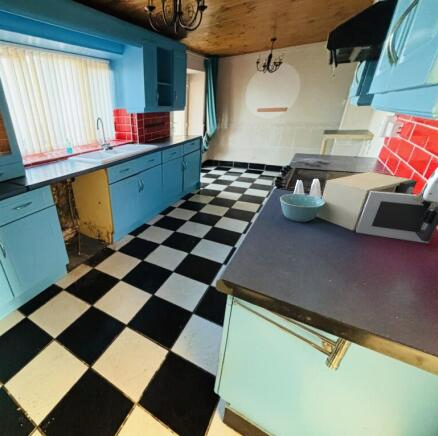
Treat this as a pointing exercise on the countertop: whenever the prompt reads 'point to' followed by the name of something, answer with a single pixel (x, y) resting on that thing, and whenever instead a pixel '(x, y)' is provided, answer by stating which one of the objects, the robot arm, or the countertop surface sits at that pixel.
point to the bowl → (301, 206)
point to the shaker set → (314, 190)
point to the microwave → (357, 195)
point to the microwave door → (396, 217)
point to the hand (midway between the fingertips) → (432, 222)
